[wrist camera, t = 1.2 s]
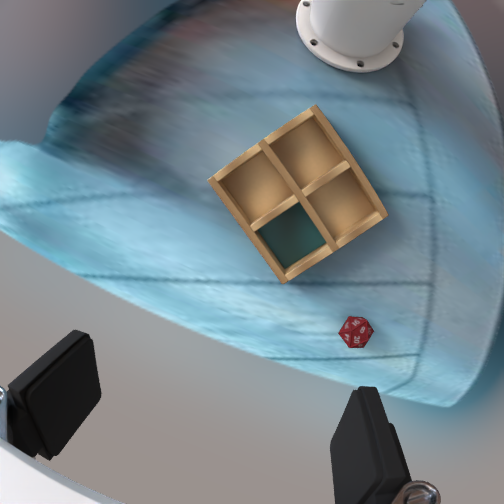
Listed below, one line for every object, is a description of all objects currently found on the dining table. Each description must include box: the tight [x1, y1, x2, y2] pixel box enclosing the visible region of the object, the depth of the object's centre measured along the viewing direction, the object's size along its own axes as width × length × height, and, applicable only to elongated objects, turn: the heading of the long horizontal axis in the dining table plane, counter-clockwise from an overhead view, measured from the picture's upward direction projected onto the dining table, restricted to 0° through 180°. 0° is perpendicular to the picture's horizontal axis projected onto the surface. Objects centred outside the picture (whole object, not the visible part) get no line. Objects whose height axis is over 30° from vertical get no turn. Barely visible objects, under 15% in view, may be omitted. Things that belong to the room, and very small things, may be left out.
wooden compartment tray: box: [207, 104, 388, 284], centre depth 32 cm, size 14×14×3 cm
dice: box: [338, 316, 374, 348], centre depth 34 cm, size 4×4×4 cm
